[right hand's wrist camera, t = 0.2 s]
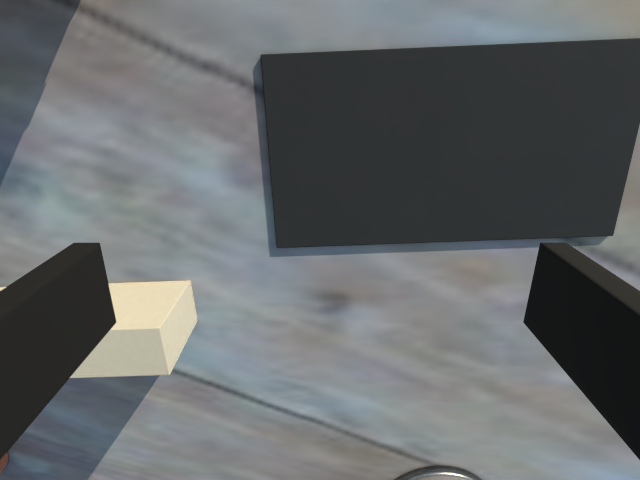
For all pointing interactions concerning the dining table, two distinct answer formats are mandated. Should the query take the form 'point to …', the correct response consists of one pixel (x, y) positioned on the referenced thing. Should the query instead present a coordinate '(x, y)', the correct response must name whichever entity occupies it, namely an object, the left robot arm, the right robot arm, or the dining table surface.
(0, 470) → the terracotta pot
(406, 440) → the dining table surface
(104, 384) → the dining table surface
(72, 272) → the right robot arm
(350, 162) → the dark rubber mat
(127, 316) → the cream beam
